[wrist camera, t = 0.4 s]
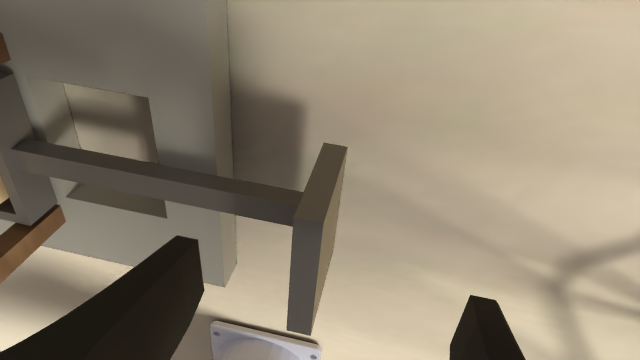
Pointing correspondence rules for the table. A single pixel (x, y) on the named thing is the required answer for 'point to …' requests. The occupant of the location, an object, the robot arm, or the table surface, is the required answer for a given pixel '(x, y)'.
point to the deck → (165, 106)
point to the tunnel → (20, 239)
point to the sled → (178, 195)
